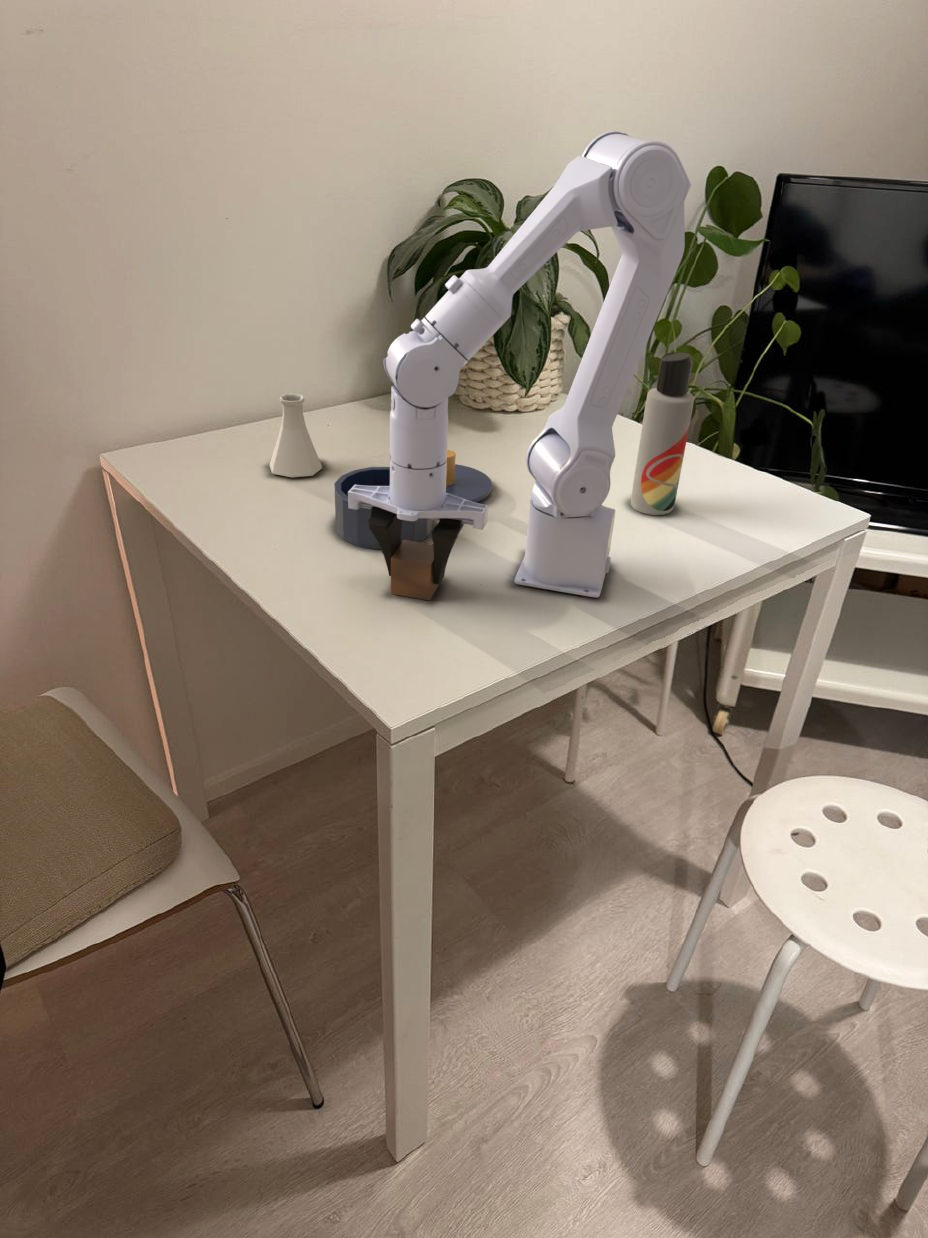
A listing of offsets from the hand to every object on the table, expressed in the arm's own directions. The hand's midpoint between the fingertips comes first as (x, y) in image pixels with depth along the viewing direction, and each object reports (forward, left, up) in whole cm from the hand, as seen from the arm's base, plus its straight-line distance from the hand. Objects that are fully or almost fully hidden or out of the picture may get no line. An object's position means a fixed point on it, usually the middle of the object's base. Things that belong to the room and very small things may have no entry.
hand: (416, 576), depth 98 cm
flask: (+25, -25, -2) cm, 35 cm away
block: (0, 0, -1) cm, 1 cm away
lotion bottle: (-23, -30, -2) cm, 38 cm away
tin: (+8, -12, -1) cm, 15 cm away
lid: (+4, -25, -1) cm, 26 cm away
